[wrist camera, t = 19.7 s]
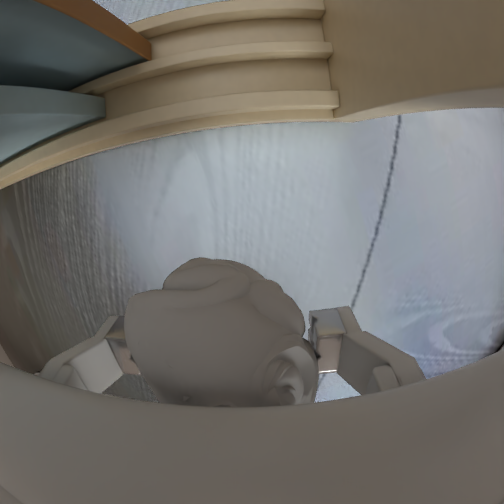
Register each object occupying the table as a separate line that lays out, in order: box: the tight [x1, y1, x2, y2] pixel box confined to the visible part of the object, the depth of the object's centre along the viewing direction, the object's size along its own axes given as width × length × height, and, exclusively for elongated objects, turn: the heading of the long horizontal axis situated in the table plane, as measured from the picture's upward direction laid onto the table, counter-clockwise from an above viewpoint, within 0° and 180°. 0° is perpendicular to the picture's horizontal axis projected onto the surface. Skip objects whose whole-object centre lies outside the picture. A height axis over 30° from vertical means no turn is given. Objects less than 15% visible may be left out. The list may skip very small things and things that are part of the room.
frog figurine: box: [124, 257, 319, 407], centre depth 9 cm, size 6×7×7 cm
